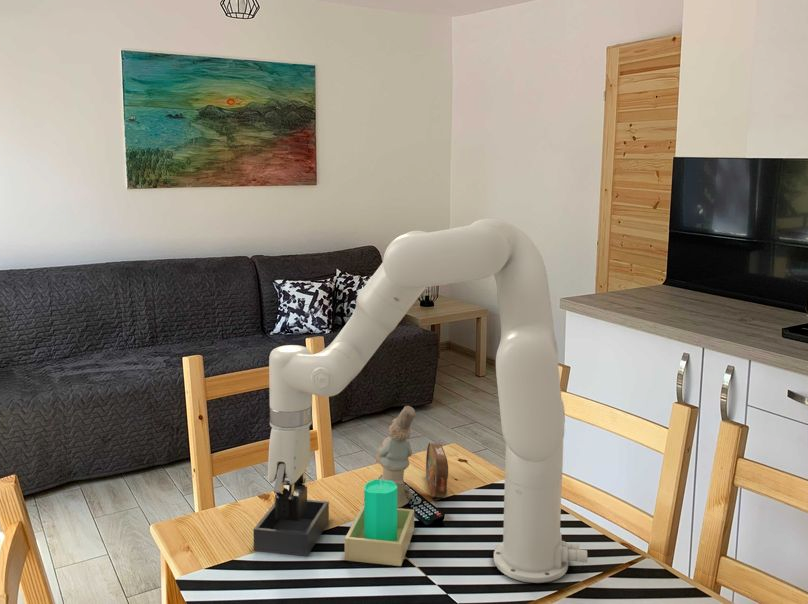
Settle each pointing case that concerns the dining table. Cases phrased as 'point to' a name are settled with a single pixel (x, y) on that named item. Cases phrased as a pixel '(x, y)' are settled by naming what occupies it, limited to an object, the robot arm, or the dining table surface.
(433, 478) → the tin
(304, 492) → the block
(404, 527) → the cream bin
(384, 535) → the candle
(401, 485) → the figurine
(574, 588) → the dining table surface
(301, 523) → the charcoal bin
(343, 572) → the dining table surface
